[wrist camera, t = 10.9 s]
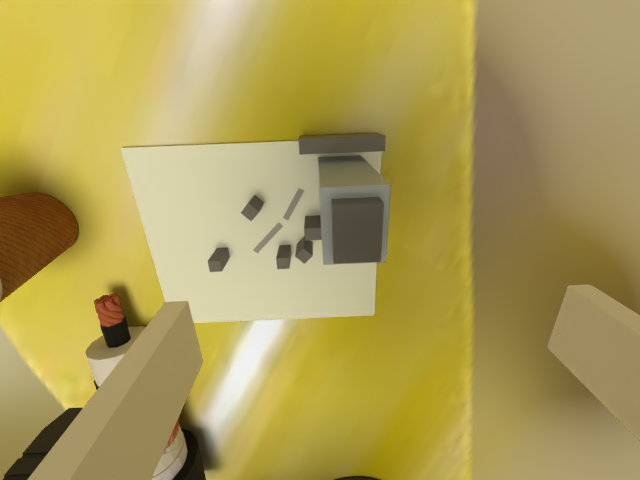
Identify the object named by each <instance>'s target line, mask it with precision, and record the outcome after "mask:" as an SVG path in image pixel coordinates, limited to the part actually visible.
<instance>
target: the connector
mask: <svg viewBox="0 0 640 480" xmlns="http://www.w3.org/2000/svg"><path fill="white" fill-rule="evenodd" d="M318 176H319V202H320V220H321V237H322V253H323V265H335V264H359V263H383V262H386V254H387V237H388V220H389V203H390V184H389V183H388V182H387V181H386V180H385V179H384V178H383V177H382V176H381V175H380V174H379V173H378V172H377V171H376V170H375V169H374V168H373V167H372V166H371V165H370V164H369V163H368V162H367V161H366V160H365V159H364V158H363V157H362V156H361V155H354V156H329V157H318Z"/></svg>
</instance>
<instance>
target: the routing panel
mask: <svg viewBox="0 0 640 480" xmlns="http://www.w3.org/2000/svg"><path fill="white" fill-rule="evenodd" d="M382 151H385V135H382V134H379V133H358V134H333V135H308V136H300V137H299V141H275V142H250V143H225V144H200V145H175V146H151V147H126V148H121V152H122V155H123V159H124V162H125V166H126V169H127V172H128V176H129V179H130V183H131V186H132V190H133V193H134V196H135V200H136V203H137V207H138V210H139V214H140V217H141V220H142V224H143V227H144V231H145V234H146V238H147V241H148V245H149V248H150V251H151V255H152V258H153V262H154V265H155V269H156V272H157V275H158V279H159V282H160V286H161V289H162V293H163V296H164V299H165V302H173V301H188V303H189V307H190V311H191V315H192V319H193V323H206V322H230V321H253V320H277V319H301V318H325V317H349V316H372V315H374V314H375V291H376V268H377V263H359V264H335V265H323V253H322V237H321V220H320V202H319V176H318V157H329V156H354V155H361V156H362V157H363V158H364V159H365V160H366V161H367V162H368V163H369V164H370V165H371V166H372V167H373V168H374V169H375V170H376V171H377V172H378V173H379V174H380V175H381V155H382Z"/></svg>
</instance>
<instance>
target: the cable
mask: <svg viewBox="0 0 640 480" xmlns="http://www.w3.org/2000/svg"><path fill="white" fill-rule="evenodd" d="M94 304H95V308H96V312H97V314H98V317H99V320H100V323H101V325H100V327H101V330H102V333H103V336H101V337H100V338H98V339H97V340H95V341H94V342H93V343H92V344H91V345H90V346H89V347H88V348H87V350H86V355H87V358H88V361H89V364H90V367H91V370H92V373H93V376H94V379H95V380H94V383H95V386H96V389H97V390H98V388H99V387H100V386H101V384H102V383H103V382H104V381H105V379H106V378H107V377H108V375H109V374H110V373H111V372H112V370H113V369H114V368H115V366H116V365H117V364H118V363H119V361H120V360H121V359H122V357H123V356H124V355H125V354H126V352H127V351H128V350H129V348H130V347H131V346H132V345H133V343H134V342H135V341H136V339H137V338H138V337H139V335H140V334H141V333H142V332H143V330H144V329H145V328H146V327H144V326H133V327H128V325H127V321H126V317H125V316H124V314H122V311H123V310H122V308H121V307H120V305H121V303H120V301H119V298H118V296H116V294H111V295H109V296H108V295H104V296H101V297H100V298H99V299H96V300H94ZM151 480H206V478H205V474H204V469H203V465H202V461H201V457H200V453H199V448H198V444H197V440H196V438H195V437H194V435H193V434H192V433H191V432H189V431H187V430H184V429H181V428H180V425H179V418H178V420H177V422H176V424H175V427H174V429H173V431H172V433H171V436H170V438H169V440H168V443H167V445H166V447H165V449H164V452H163V454H162V456H161V458H160V461H159V463H158V465H157V467H156V470H155V472H154V474H153V477H152V479H151Z"/></svg>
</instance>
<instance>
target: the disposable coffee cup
mask: <svg viewBox="0 0 640 480" xmlns="http://www.w3.org/2000/svg"><path fill="white" fill-rule="evenodd" d="M77 237H78V225H77V222H76V219H75V217H74V216H73V214H72V213H71V211H70V210H69V209H68V208H67V207H66V206H65V205H64V204H62V203H61V202H60V201H59V200H57V199H55V198H53V197H51V196H49V195H46V194H42V193H27V194H21V195H14V196H7V197H0V302H1V301H2V300H4V299H5V297H8V296H9V295H10V294H11V293H12V292H14V291H15V290H16V289H17V288H18V287H20V286H21V285H23V283H25V282H26V281H28V280H29V279H30V278H31V277H33V276H34V275H35V274H37V273H38V272H39V271H41V270H42V269H43V268H44V267H46V266H47V265H48V264H49V263H51V262H52V261H53V260H54V259H56V258H57V256H59V255H60V254H62V253H63V252H64V251H66V250H67V249H68V248H69V247H71V246H72V245H73V244H74V243H75V242H76V240H77Z"/></svg>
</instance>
